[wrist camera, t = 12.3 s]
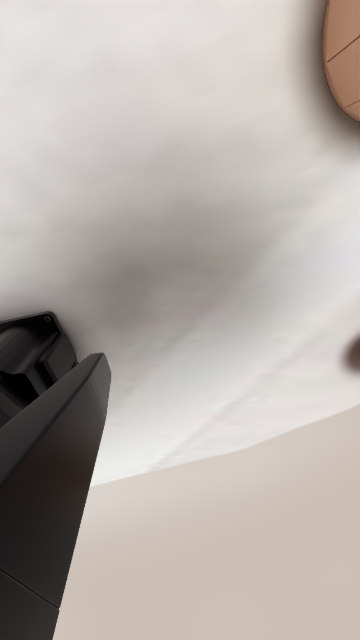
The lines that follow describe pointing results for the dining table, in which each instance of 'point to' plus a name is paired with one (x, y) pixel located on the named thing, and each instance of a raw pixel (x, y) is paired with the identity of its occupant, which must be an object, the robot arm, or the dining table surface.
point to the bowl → (343, 54)
